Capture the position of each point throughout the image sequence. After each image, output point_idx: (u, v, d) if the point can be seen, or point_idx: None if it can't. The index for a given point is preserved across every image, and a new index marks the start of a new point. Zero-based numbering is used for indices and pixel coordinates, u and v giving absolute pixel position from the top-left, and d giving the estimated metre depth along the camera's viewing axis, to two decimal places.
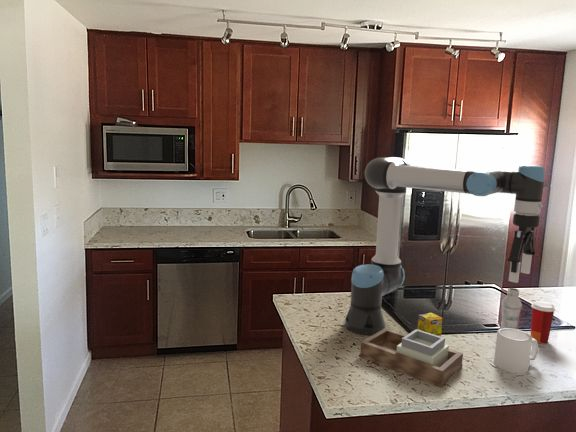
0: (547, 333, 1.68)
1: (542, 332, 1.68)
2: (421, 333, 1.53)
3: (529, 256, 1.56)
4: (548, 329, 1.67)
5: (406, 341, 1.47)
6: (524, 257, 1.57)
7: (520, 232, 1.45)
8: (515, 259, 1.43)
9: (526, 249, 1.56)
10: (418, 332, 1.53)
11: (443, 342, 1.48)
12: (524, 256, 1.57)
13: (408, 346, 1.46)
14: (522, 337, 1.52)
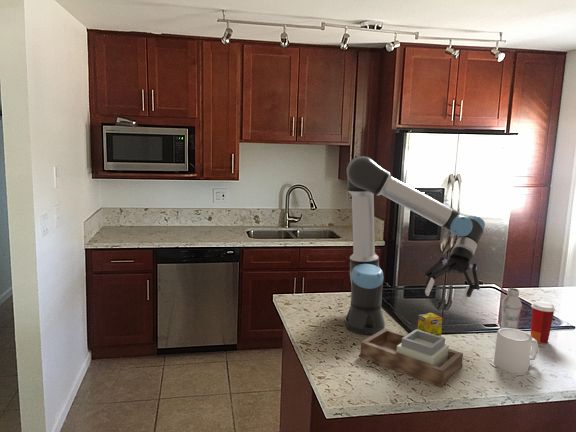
0: (547, 333, 1.68)
1: (542, 332, 1.68)
2: (421, 333, 1.53)
3: (433, 281, 1.77)
4: (548, 329, 1.67)
5: (406, 341, 1.47)
6: (432, 281, 1.76)
7: None
8: (479, 287, 1.67)
9: (436, 275, 1.77)
10: (418, 332, 1.53)
11: (443, 342, 1.48)
12: (432, 280, 1.76)
13: (408, 346, 1.46)
14: (522, 337, 1.52)
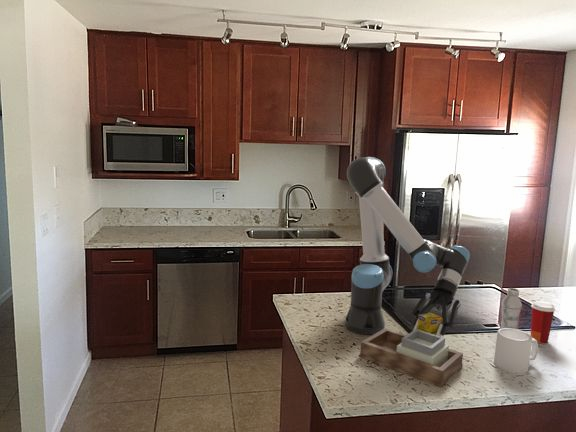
0: (547, 333, 1.68)
1: (542, 332, 1.68)
2: (421, 333, 1.53)
3: None
4: (548, 329, 1.67)
5: (406, 341, 1.47)
6: None
7: (459, 303, 1.64)
8: (453, 326, 1.60)
9: (423, 313, 1.67)
10: (418, 332, 1.53)
11: (443, 342, 1.48)
12: None
13: (408, 346, 1.46)
14: (522, 337, 1.52)
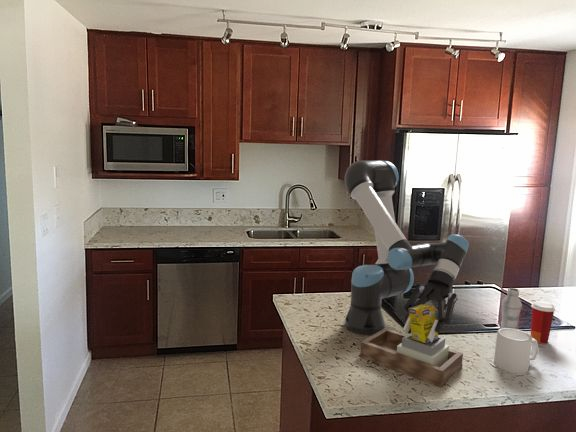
0: (547, 333, 1.68)
1: (542, 332, 1.68)
2: None
3: None
4: (548, 329, 1.67)
5: (406, 341, 1.46)
6: None
7: (456, 297, 1.48)
8: (449, 322, 1.44)
9: None
10: None
11: (443, 342, 1.48)
12: None
13: (408, 346, 1.46)
14: (522, 337, 1.52)
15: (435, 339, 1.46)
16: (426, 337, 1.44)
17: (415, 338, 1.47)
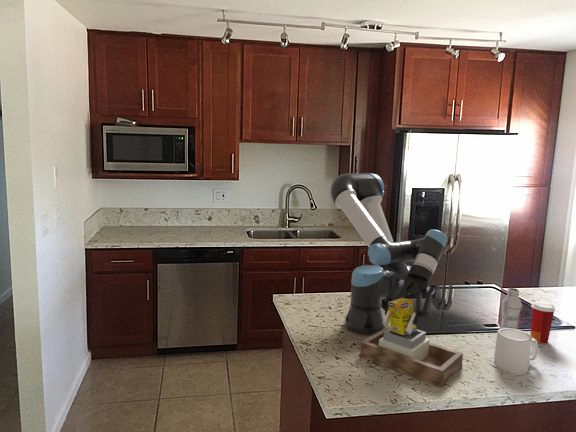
0: (547, 333, 1.68)
1: (542, 332, 1.68)
2: None
3: None
4: (548, 329, 1.67)
5: (387, 334, 1.51)
6: None
7: (434, 291, 1.53)
8: (427, 314, 1.49)
9: None
10: None
11: (424, 336, 1.52)
12: None
13: (390, 340, 1.50)
14: (522, 337, 1.52)
15: (413, 331, 1.51)
16: (405, 329, 1.49)
17: (394, 331, 1.52)
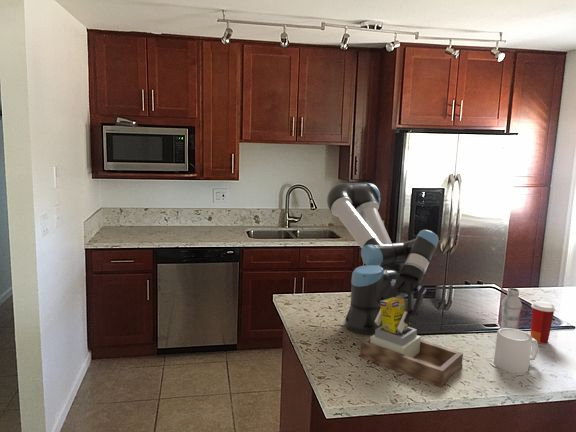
0: (547, 333, 1.68)
1: (542, 332, 1.68)
2: None
3: None
4: (548, 329, 1.67)
5: (379, 332, 1.53)
6: None
7: (425, 290, 1.55)
8: (418, 313, 1.51)
9: None
10: None
11: (415, 333, 1.54)
12: None
13: (381, 337, 1.52)
14: (522, 337, 1.52)
15: (405, 330, 1.53)
16: (396, 328, 1.51)
17: (386, 329, 1.54)
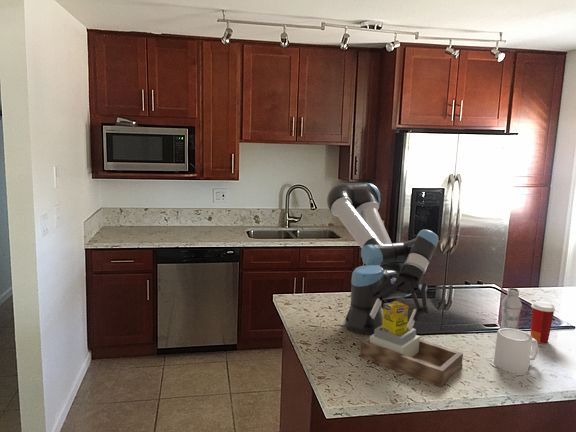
0: (547, 333, 1.68)
1: (542, 332, 1.68)
2: None
3: (380, 303, 1.60)
4: (548, 329, 1.67)
5: (378, 331, 1.53)
6: (378, 302, 1.59)
7: (426, 287, 1.55)
8: None
9: (383, 296, 1.60)
10: None
11: (414, 333, 1.54)
12: (378, 301, 1.59)
13: (380, 336, 1.53)
14: (522, 337, 1.52)
15: None
16: (396, 333, 1.51)
17: None
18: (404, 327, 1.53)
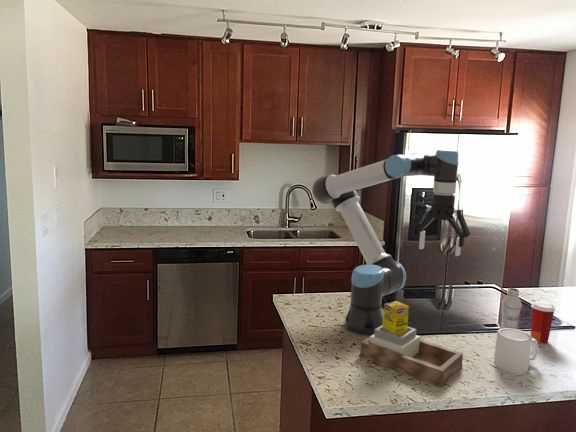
0: (547, 333, 1.68)
1: (542, 332, 1.68)
2: None
3: (424, 232, 1.72)
4: (548, 329, 1.67)
5: (378, 331, 1.53)
6: (422, 234, 1.71)
7: (461, 210, 1.62)
8: (469, 234, 1.61)
9: (425, 227, 1.71)
10: None
11: (414, 333, 1.54)
12: (422, 233, 1.71)
13: (380, 337, 1.53)
14: (522, 337, 1.52)
15: None
16: (396, 333, 1.51)
17: None
18: (404, 327, 1.53)
